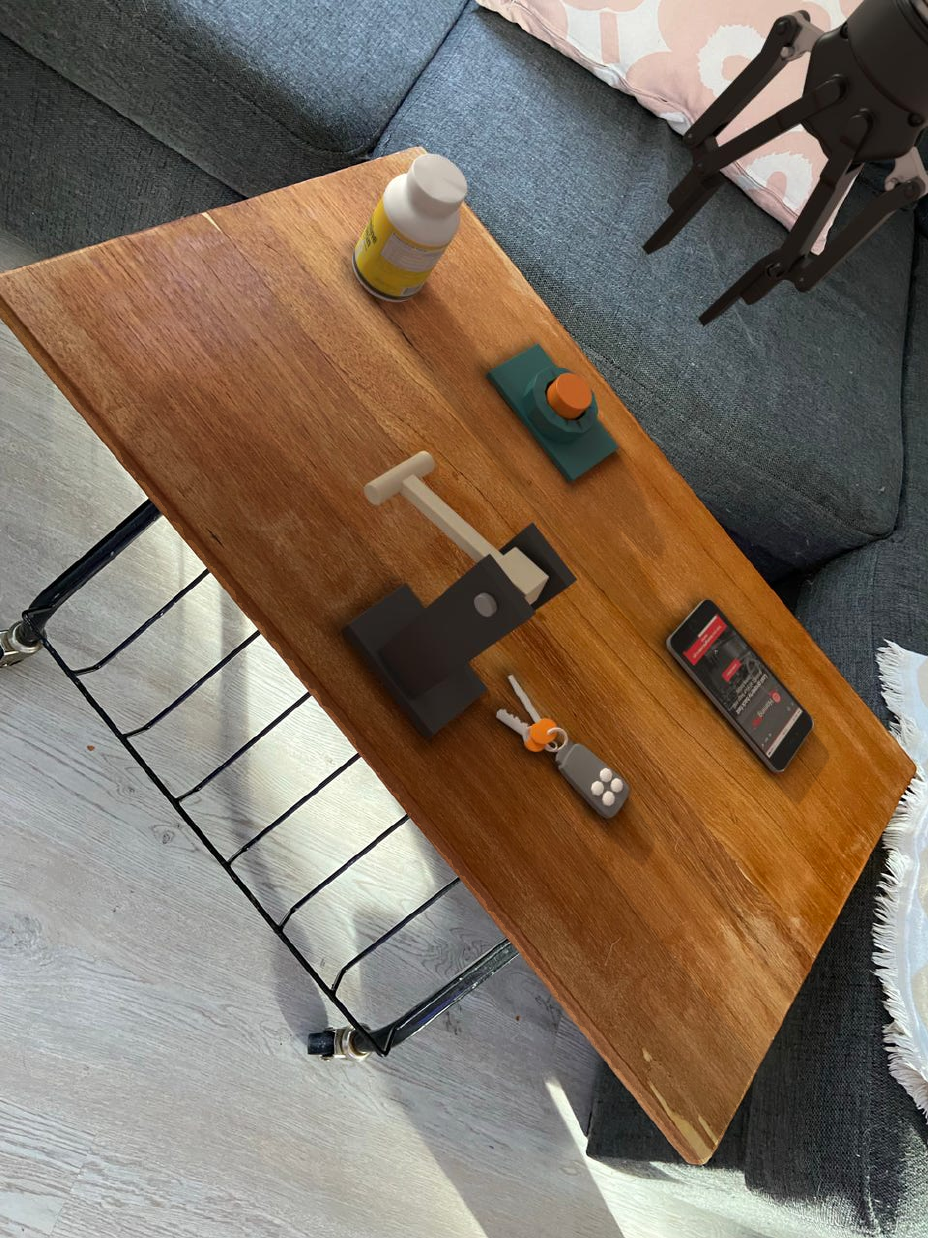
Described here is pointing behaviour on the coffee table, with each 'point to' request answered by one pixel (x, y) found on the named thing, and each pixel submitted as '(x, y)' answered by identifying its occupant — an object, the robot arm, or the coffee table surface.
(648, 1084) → the coffee table surface
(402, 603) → the lever switch stand
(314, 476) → the coffee table surface
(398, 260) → the pill bottle
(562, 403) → the button
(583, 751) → the key chain
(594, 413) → the teal button base
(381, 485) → the switch lever
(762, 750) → the smartphone
